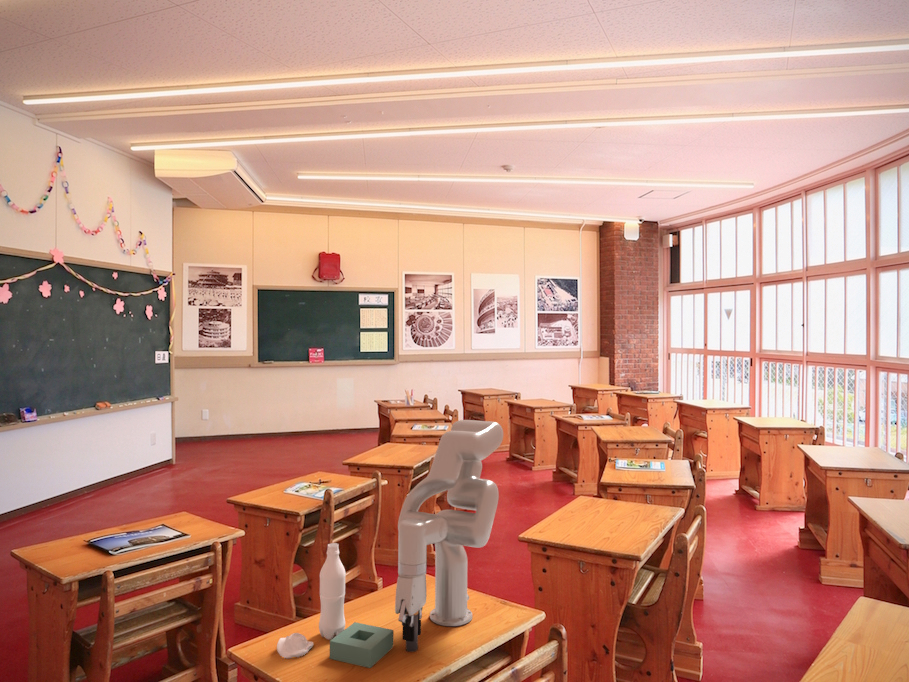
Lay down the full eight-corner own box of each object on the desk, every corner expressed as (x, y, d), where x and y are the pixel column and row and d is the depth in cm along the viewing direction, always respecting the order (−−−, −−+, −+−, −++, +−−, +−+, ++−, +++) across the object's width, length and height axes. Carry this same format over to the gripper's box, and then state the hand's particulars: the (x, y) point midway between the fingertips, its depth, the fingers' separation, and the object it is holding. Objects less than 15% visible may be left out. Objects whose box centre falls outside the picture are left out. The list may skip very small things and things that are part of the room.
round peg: (408, 644, 164) (409, 603, 165) (420, 647, 163) (420, 605, 163) (403, 650, 161) (403, 608, 162) (414, 653, 160) (414, 610, 160)
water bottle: (313, 635, 170) (314, 544, 170) (334, 627, 175) (335, 539, 175) (328, 644, 165) (330, 550, 165) (350, 635, 170) (351, 544, 171)
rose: (269, 632, 162) (304, 622, 168) (269, 649, 162) (303, 638, 168) (285, 646, 155) (320, 635, 161) (285, 664, 154) (320, 652, 161)
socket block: (354, 638, 168) (354, 622, 168) (393, 647, 163) (393, 630, 163) (329, 658, 157) (329, 640, 157) (370, 668, 152) (370, 649, 152)
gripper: (413, 556, 172) (413, 622, 171) (384, 575, 157) (384, 648, 156) (437, 560, 169) (437, 627, 168) (411, 579, 154) (410, 653, 153)
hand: (411, 636), depth 162 cm, fingers closed on round peg, 3 cm apart
